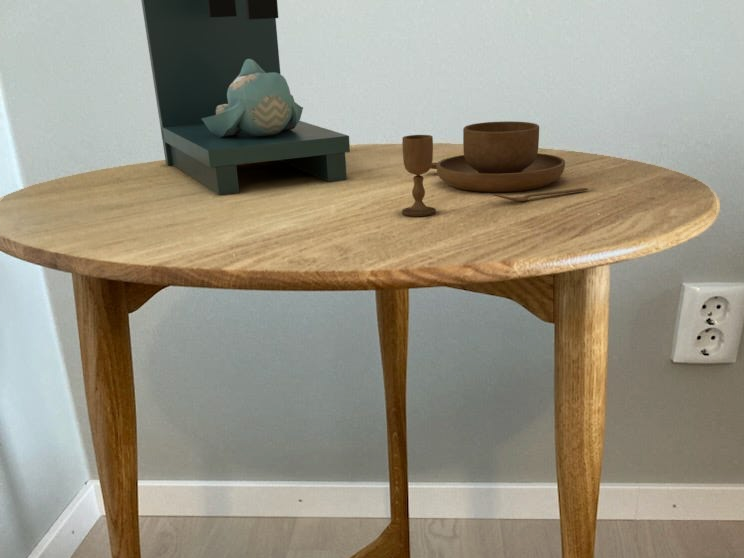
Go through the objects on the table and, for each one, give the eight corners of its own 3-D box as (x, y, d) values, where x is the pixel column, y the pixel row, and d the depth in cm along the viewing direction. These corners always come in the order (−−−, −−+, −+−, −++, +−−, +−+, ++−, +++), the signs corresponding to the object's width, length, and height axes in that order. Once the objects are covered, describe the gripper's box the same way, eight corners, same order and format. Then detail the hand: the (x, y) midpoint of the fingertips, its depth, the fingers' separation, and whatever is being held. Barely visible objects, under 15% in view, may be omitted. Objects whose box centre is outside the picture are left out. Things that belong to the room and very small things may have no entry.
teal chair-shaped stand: (351, 178, 90) (337, -86, 79) (213, 195, 86) (178, -84, 75) (284, 151, 107) (264, -70, 96) (166, 164, 103) (131, -67, 92)
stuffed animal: (275, 66, 97) (318, 46, 87) (286, 138, 99) (329, 127, 89) (177, 74, 93) (209, 53, 83) (191, 149, 95) (223, 138, 85)
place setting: (612, 188, 81) (617, 116, 78) (415, 219, 74) (413, 141, 71) (502, 162, 95) (504, 100, 92) (327, 186, 87) (322, 119, 84)
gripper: (306, -306, 68) (324, 17, 79) (219, -236, 88) (242, 14, 99) (208, -314, 65) (240, 21, 76) (140, -240, 85) (173, 17, 96)
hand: (241, 18), depth 87 cm, fingers open, 13 cm apart
